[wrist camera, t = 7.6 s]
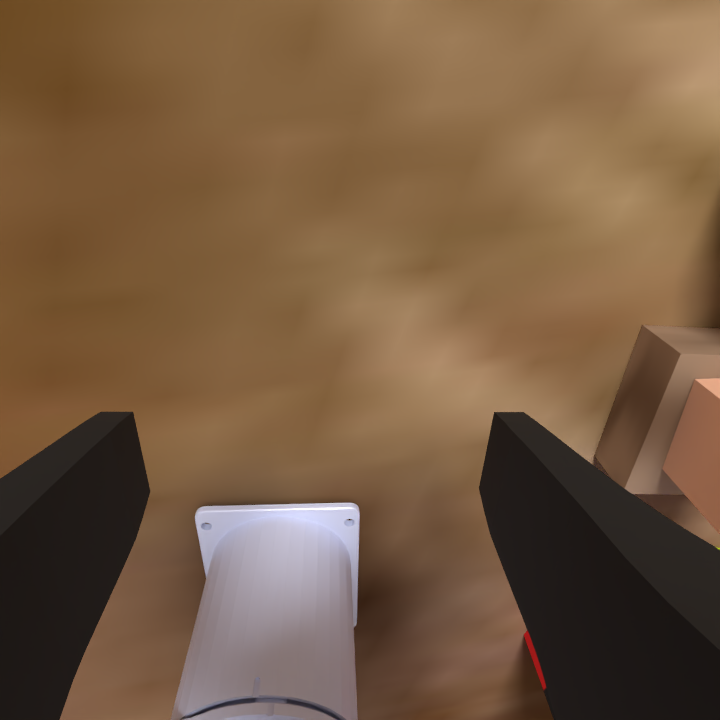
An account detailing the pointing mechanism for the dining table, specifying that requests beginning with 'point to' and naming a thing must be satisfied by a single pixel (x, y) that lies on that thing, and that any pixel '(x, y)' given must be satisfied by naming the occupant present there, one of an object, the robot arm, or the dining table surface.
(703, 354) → the wood slab
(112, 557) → the robot arm
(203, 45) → the dining table surface
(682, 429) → the peach block
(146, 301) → the dining table surface
